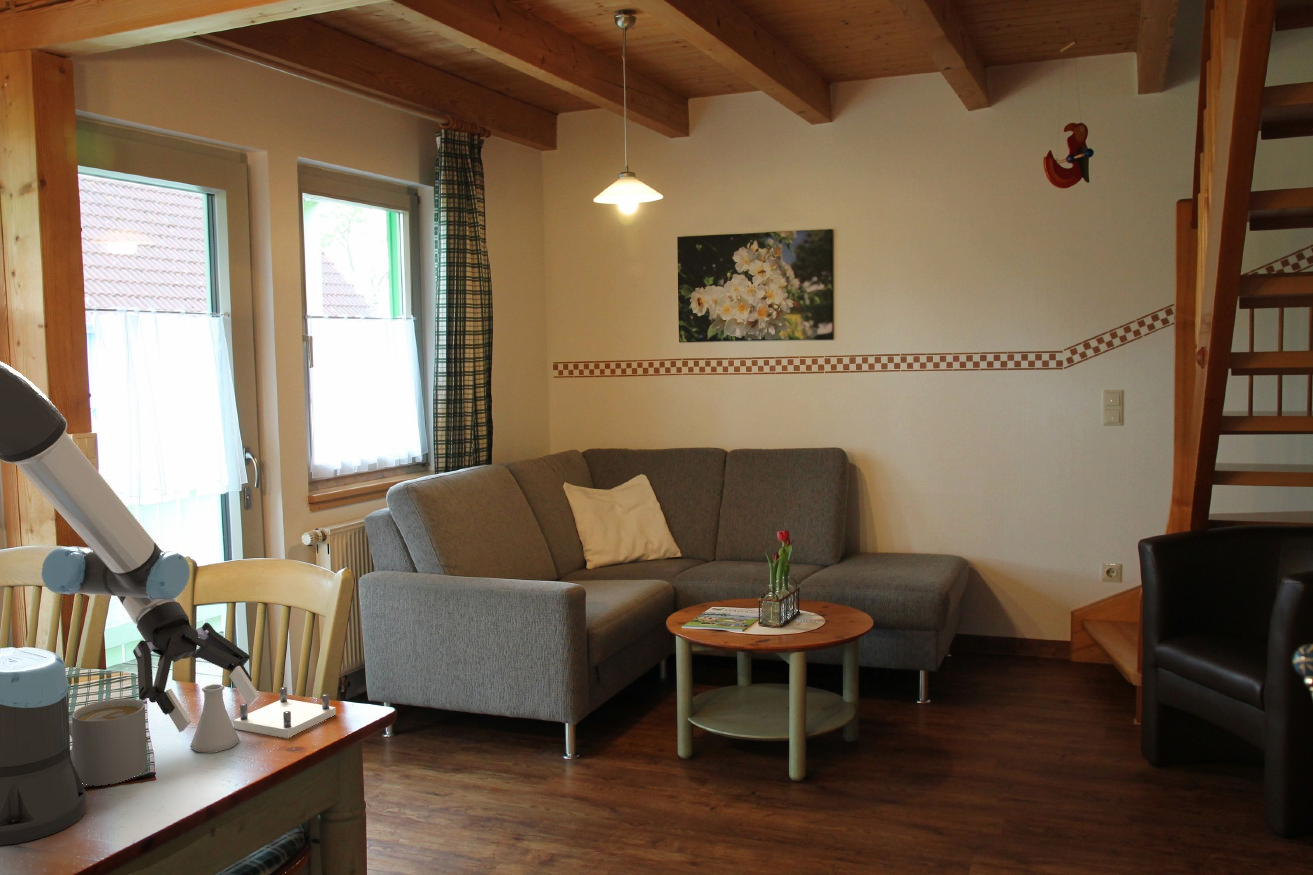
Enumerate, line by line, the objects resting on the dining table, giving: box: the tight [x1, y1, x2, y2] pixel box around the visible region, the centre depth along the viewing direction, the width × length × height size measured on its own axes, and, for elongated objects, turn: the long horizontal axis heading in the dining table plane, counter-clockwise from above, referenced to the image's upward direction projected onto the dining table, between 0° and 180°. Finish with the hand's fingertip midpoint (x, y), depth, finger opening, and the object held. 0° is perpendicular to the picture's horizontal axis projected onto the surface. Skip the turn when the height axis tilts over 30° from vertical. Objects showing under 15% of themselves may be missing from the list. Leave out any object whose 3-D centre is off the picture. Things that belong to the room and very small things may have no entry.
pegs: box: [239, 686, 330, 728], centre depth 179 cm, size 11×11×2 cm
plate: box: [233, 698, 337, 739], centre depth 179 cm, size 12×12×2 cm
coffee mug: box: [69, 698, 148, 787], centre depth 157 cm, size 13×10×10 cm
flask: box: [189, 683, 241, 754], centre depth 168 cm, size 7×7×10 cm
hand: (221, 713), depth 168 cm, fingers open, 13 cm apart
